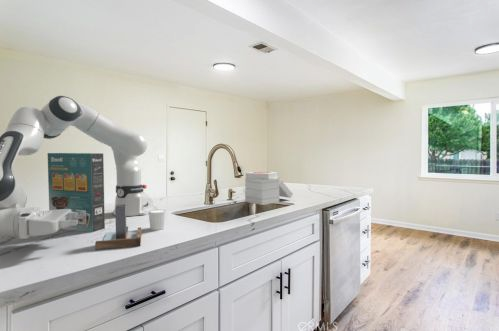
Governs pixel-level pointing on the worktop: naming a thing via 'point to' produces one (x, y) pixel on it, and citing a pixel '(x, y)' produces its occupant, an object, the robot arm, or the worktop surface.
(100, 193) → the cake mix box
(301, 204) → the worktop surface
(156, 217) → the white cylinder
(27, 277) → the worktop surface
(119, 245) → the corner walls
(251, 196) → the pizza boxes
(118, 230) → the bracket
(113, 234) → the mat
